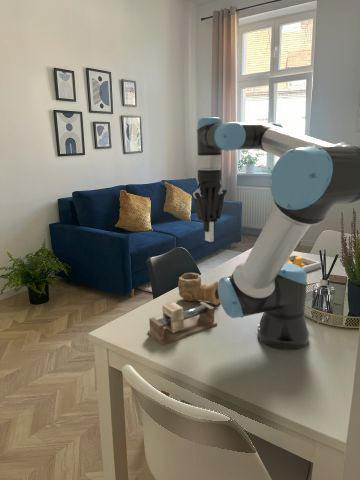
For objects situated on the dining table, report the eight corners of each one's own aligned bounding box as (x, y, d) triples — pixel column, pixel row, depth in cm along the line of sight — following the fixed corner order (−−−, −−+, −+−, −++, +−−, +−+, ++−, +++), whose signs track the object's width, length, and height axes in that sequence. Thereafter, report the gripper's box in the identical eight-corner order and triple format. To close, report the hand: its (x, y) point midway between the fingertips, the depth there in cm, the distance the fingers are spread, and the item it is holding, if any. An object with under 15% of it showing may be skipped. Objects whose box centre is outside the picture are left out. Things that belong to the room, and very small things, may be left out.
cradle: (200, 314, 127) (200, 300, 125) (217, 325, 120) (217, 309, 118) (147, 332, 116) (147, 316, 114) (162, 345, 108) (161, 328, 107)
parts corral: (320, 267, 172) (321, 262, 171) (298, 274, 163) (299, 269, 163) (293, 259, 184) (293, 254, 184) (272, 265, 176) (272, 260, 175)
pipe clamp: (304, 270, 168) (305, 257, 167) (296, 272, 167) (297, 258, 165) (287, 263, 179) (287, 250, 177) (280, 264, 177) (280, 252, 176)
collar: (173, 322, 119) (173, 301, 117) (183, 329, 114) (183, 308, 112) (163, 325, 116) (162, 304, 115) (172, 333, 112) (172, 311, 110)
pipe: (216, 309, 131) (217, 283, 128) (174, 304, 136) (174, 278, 134) (222, 299, 139) (223, 275, 136) (182, 294, 144) (182, 270, 142)
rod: (202, 310, 123) (202, 303, 122) (207, 313, 120) (207, 306, 120) (156, 326, 113) (156, 318, 112) (160, 329, 111) (160, 321, 110)
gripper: (217, 167, 122) (217, 235, 128) (185, 169, 115) (186, 241, 121) (232, 168, 116) (231, 239, 122) (200, 170, 109) (200, 246, 115)
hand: (209, 240), depth 121 cm, fingers closed
